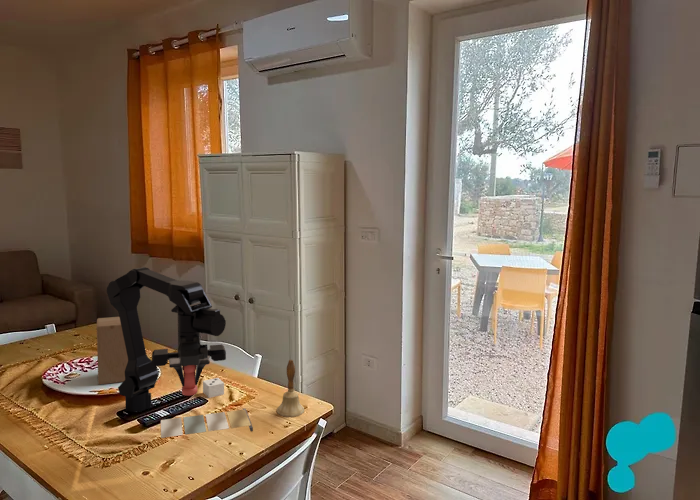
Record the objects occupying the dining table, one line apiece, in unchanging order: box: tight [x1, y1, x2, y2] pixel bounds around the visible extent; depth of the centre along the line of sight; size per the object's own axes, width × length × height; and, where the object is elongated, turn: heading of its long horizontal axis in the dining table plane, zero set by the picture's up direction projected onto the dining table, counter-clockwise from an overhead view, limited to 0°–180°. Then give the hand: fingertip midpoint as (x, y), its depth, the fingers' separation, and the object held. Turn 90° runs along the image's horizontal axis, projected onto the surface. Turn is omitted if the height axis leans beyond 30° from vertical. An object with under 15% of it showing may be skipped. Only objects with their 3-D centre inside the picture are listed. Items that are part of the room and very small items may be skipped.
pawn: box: [181, 365, 198, 397], centre depth 135 cm, size 4×4×9 cm
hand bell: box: [276, 359, 305, 418], centre depth 149 cm, size 8×8×16 cm
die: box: [202, 377, 225, 398], centre depth 157 cm, size 5×5×5 cm
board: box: [160, 408, 254, 439], centre depth 139 cm, size 24×12×1 cm, turn 111°
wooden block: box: [96, 316, 128, 385], centre depth 168 cm, size 10×10×20 cm
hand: (189, 385), depth 135 cm, fingers closed on pawn, 3 cm apart
